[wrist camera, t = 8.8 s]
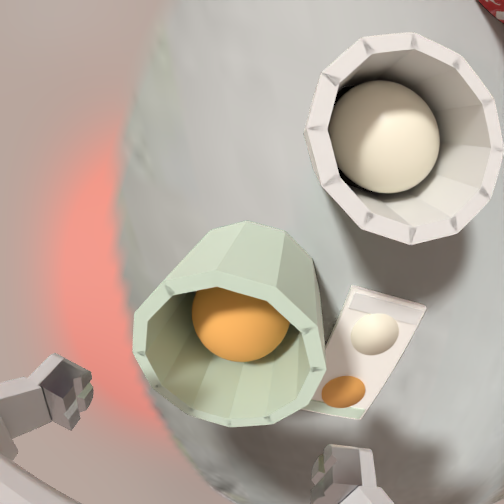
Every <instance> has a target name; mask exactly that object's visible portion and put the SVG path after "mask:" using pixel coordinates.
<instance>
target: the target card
mask: <svg viewBox="0 0 504 504" xmlns="http://www.w3.org/2000/svg"><path fill="white" fill-rule="evenodd" d="M426 309H427V308H426V306H425V305H423V304H419V303H416V302H412V301H409V300H405V299H401V298H398V297H394V296H391V295H387V294H383V293H380V292H376V291H373V290H369V289H365V288H362V287H358V286H355V285H351V288H350V290H349V293H348V295H347V298H346V300H345V302H344V305H343V307H342V310H341V312H340V314H339V317H338V319H337V321H336V324H335V326H334V328H333V330H332V333H331V335H330V337H329V339H328V342H327V344H326V346H325V354H326V368H327V370H326V372H325V374H324V376H323V378H322V380H321V382H320V384H319V385H318V387H317V389H316V391H315V393H314V395H313V397H312V399H311V401H310V402H309V404H308V405H307V406H305V407H303V408H301V409H302V410H306V411H311V412H316V413H322V414H327V415H333V416H338V417H344V418H350V419H357V420H361V418H362V417H363V415H364V414H365V413H366V411H367V410H368V408H369V407H370V405H371V404H372V402H373V401H374V399H375V398H376V396H377V395H378V393H379V392H380V390H381V388H382V387H383V385H384V384H385V382H386V381H387V379H388V377H389V376H390V374H391V372H392V371H393V369H394V367H395V366H396V364H397V362H398V361H399V359H400V357H401V355H402V354H403V352H404V350H405V348H406V347H407V345H408V343H409V341H410V339H411V338H412V336H413V334H414V332H415V330H416V328H417V326H418V324H419V322H420V320H421V319H422V317H423V315H424V313H425V311H426Z"/></svg>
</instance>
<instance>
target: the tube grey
mask: <svg viewBox="0 0 504 504" xmlns="http://www.w3.org/2000/svg"><path fill="white" fill-rule="evenodd" d="M358 84H359V85H358ZM352 85H357V86H355V87H353V88H352V89H350V90H349V91H347V92H346V93H345V94H344V95H343V96H342V97H341V98H340V99H339V101H338V102H337V103H336V105H335V107H334V109H333V106H334V102H335V98H336V94H337V93H338V92H339V91H340V90H341V89H342V88H343V87H347V86H352ZM332 110H333V111H332ZM303 134H304V138H305V141H306V145H307V148H308V152H309V156H310V159H311V163H312V167H313V170H314V172H315V174H316V176H317V178H318V180H319V182H320V184H321V186H322V187H323V188H324V189H325V190H326V191H327V192H328V193H329V195H330V196H331V197H332V198H333V199H334V200H335V201H336V202H337V203H338V204H339V205H340V206H341V207H342V209H343V210H344V211H345V212H346V213H347V214H348V215H349V216H350V217H351V218H352V220H353V221H354V222H355V223H356V224H357V225H358V226H359V227H360V229H362V230H366V231H369V232H372V233H375V234H378V235H381V236H384V237H387V238H390V239H393V240H396V241H399V242H403V243H405V244H408V245H414V244H418V243H422V242H426V241H430V240H434V239H438V238H442V237H446V236H450V235H454V234H458V232H460V231H461V230H462V229H463V228H464V227H465V226H466V225H467V224H468V223H469V222H470V221H471V220H472V219H473V218H474V217H475V215H476V214H477V213H478V212H479V211H480V210H481V209H482V208H483V207H484V206H485V205H486V204H487V203H488V202H489V201H490V200H491V197H492V194H493V191H494V187H495V184H496V181H497V177H498V173H499V170H500V166H501V162H502V158H503V154H504V146H503V140H502V134H501V129H500V124H499V119H498V114H497V109H496V105H495V101H494V98H493V97H492V95H491V94H490V92H489V91H488V89H487V88H486V87H485V85H484V84H483V82H482V81H481V80H480V78H479V77H478V76H477V74H476V73H475V72H474V70H473V69H472V68H471V67H470V65H469V64H468V63H467V62H466V60H465V59H464V58H463V57H462V55H460V54H458V53H456V52H454V51H452V50H450V49H448V48H446V47H444V46H442V45H440V44H438V43H436V42H434V41H432V40H430V39H428V38H425V37H423V36H421V35H419V34H416V33H414V32H407V33H395V34H385V35H376V36H368V37H361V38H360V39H359V40H358V41H356V42H355V43H354V44H353V45H352V46H351V47H349V48H348V49H347V50H346V51H345V52H344V53H343V54H341V55H340V56H339V57H338V58H337V59H336V60H335V61H333V62H332V63H331V64H330V65H329V66H328V67H327V68H326V69H325V70H323V71H322V72H321V74H320V77H319V80H318V83H317V86H316V90H315V93H314V96H313V99H312V103H311V106H310V110H309V114H308V118H307V122H306V125H305V129H304V133H303ZM336 163H337V164H336ZM337 165H338V166H339V168H340V169H341V170H342V172H343V173H344V174H345V175H346V176H347V177H348V178H349V179H350V180H352V181H353V182H354V183H356V184H357V185H359V186H361V187H363V188H365V189H368V190H370V191H374V192H368V191H365V190H362V189H359V188H356V187H353V186H349V185H347V184H346V183H345V182H344V181H343V180H342V179H341V178H340V176H339V172H338V168H337Z"/></svg>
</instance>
